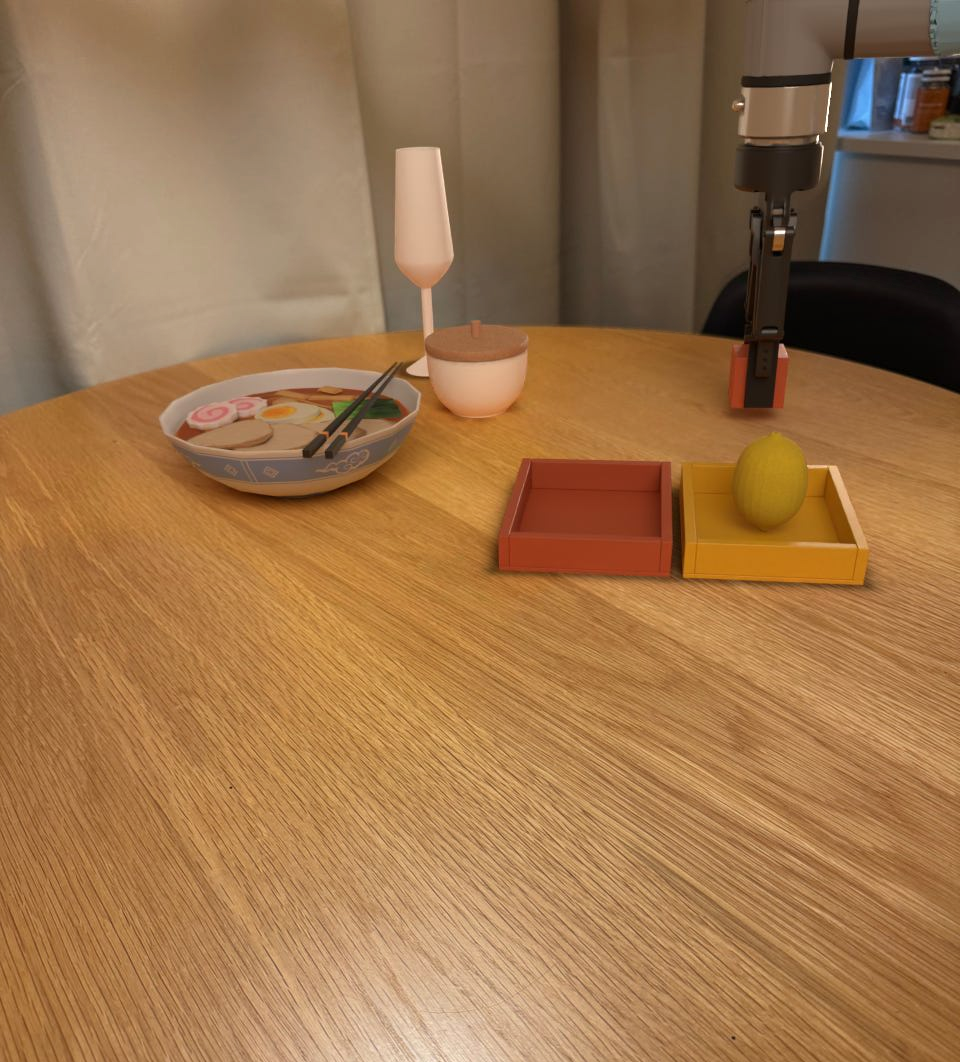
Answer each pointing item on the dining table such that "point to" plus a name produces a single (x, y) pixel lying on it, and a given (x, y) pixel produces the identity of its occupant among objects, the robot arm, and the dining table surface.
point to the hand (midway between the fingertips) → (755, 397)
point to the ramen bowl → (293, 428)
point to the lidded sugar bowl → (477, 367)
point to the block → (740, 371)
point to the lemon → (770, 481)
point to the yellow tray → (769, 532)
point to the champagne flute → (421, 228)
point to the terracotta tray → (589, 518)
